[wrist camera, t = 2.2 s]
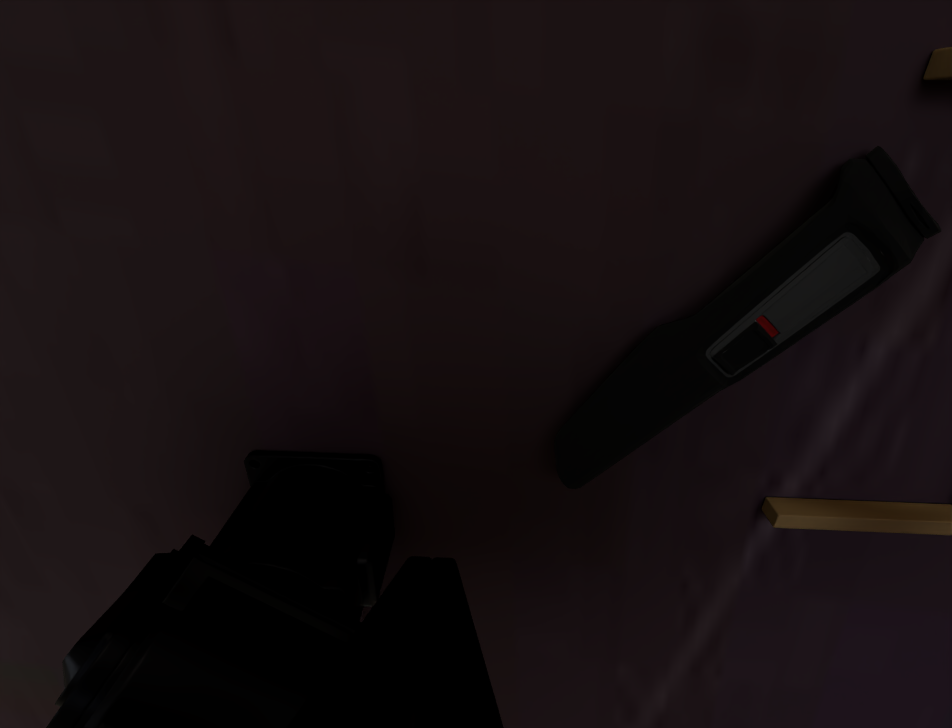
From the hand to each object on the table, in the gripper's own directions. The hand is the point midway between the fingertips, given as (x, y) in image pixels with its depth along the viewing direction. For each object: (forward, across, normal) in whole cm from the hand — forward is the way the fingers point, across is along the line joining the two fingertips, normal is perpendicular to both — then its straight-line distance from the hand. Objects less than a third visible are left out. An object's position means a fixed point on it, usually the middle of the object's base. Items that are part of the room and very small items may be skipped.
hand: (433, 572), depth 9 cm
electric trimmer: (+12, -10, 0) cm, 15 cm away
